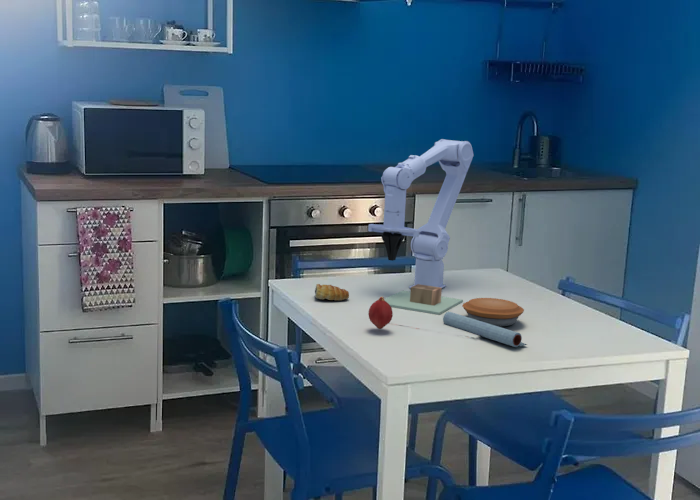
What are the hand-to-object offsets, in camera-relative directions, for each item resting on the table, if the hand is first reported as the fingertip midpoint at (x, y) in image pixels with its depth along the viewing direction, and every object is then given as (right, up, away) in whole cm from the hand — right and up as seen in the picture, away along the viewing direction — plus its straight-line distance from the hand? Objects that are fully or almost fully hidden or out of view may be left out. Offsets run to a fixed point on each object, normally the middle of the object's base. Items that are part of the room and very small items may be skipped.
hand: (391, 259), depth 245 cm
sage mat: (+8, -12, -4) cm, 15 cm away
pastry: (-15, -12, -8) cm, 21 cm away
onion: (-5, -16, -33) cm, 37 cm away
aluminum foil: (+21, -18, -31) cm, 42 cm away
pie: (+25, -16, -19) cm, 35 cm away
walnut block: (+6, -9, -4) cm, 11 cm away
